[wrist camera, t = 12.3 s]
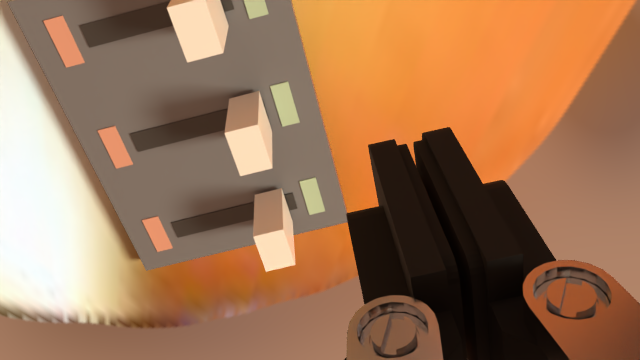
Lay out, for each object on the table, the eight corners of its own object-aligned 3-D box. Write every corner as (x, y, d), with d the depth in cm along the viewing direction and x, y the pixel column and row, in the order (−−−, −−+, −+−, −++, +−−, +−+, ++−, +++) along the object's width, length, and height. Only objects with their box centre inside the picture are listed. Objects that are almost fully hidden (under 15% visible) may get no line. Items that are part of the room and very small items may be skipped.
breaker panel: (16, -5, 35) (6, 2, 34) (271, -74, 34) (271, -70, 33) (149, 258, 46) (146, 271, 45) (346, 210, 45) (349, 222, 44)
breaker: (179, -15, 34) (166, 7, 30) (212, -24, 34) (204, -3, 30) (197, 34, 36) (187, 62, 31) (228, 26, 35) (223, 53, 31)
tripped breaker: (229, 98, 38) (224, 133, 34) (259, 90, 38) (258, 124, 33) (243, 138, 39) (240, 176, 35) (272, 131, 39) (272, 168, 35)
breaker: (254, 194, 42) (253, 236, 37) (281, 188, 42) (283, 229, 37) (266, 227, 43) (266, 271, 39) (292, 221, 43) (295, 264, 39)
